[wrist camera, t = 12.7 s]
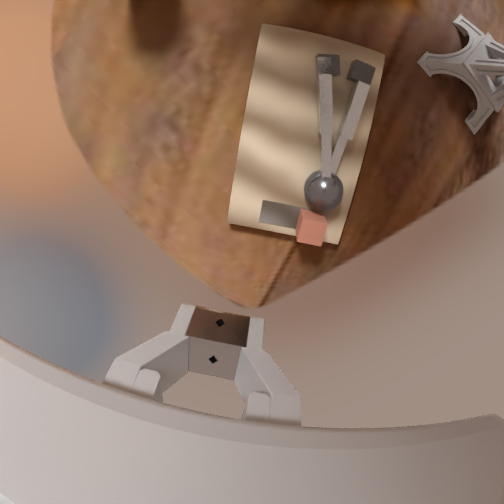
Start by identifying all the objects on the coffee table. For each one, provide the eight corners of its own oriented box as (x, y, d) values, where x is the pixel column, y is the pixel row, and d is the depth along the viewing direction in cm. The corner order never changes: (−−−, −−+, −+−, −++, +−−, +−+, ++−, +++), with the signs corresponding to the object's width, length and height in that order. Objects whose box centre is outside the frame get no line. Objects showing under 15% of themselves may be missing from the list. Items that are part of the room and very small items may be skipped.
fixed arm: (333, 211, 37) (337, 218, 35) (298, 200, 36) (299, 206, 34) (382, 75, 28) (389, 73, 26) (345, 59, 28) (350, 56, 26)
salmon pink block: (300, 208, 36) (302, 218, 33) (323, 213, 36) (327, 223, 33) (295, 229, 38) (296, 241, 35) (317, 234, 38) (321, 246, 35)
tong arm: (338, 204, 36) (341, 210, 34) (307, 204, 36) (308, 210, 34) (338, 57, 27) (342, 54, 25) (304, 56, 28) (306, 52, 26)
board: (262, 26, 28) (261, 23, 26) (381, 56, 28) (385, 54, 26) (228, 218, 40) (226, 223, 38) (335, 239, 40) (338, 244, 39)
